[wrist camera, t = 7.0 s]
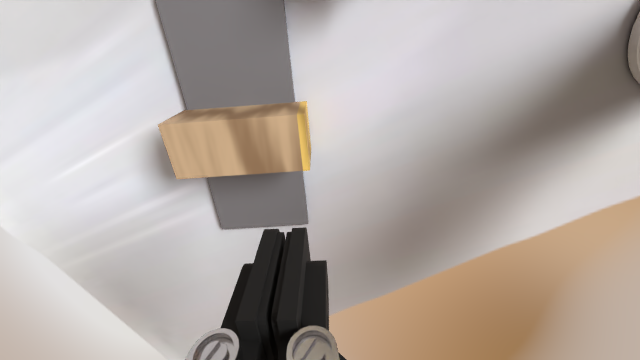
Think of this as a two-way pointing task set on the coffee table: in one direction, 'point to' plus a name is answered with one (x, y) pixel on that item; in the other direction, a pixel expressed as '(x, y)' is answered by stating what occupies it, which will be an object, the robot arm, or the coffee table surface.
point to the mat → (237, 92)
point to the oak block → (238, 140)
